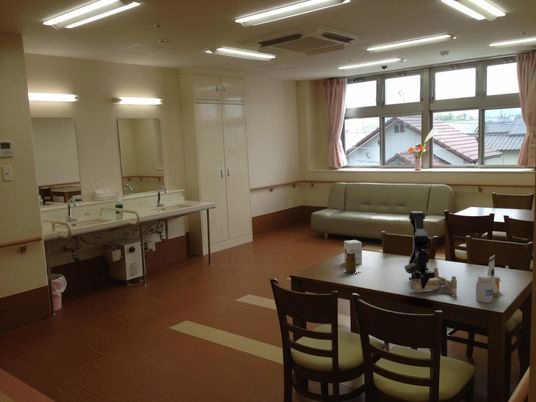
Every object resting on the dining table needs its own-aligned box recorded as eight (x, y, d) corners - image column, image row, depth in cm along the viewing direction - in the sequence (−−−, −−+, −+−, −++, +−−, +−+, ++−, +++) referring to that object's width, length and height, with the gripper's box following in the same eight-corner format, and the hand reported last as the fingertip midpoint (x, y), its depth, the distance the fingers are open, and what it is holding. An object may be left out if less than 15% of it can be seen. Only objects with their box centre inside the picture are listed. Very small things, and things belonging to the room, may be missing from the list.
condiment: (349, 270, 294) (349, 251, 292) (361, 272, 288) (360, 253, 287) (342, 272, 288) (342, 253, 287) (354, 274, 283) (354, 255, 281)
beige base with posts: (427, 285, 257) (427, 267, 255) (436, 284, 257) (436, 266, 256) (447, 296, 237) (447, 277, 236) (456, 295, 238) (457, 276, 236)
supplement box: (343, 262, 313) (343, 240, 311) (355, 261, 316) (355, 239, 314) (350, 265, 304) (349, 243, 303) (362, 264, 307) (362, 242, 305)
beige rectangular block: (411, 288, 246) (411, 279, 246) (435, 286, 249) (435, 277, 248) (414, 290, 242) (414, 281, 242) (439, 288, 245) (439, 279, 244)
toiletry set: (490, 304, 223) (491, 262, 221) (473, 301, 228) (474, 260, 226) (504, 291, 242) (505, 252, 240) (488, 289, 247) (489, 251, 245)
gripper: (398, 255, 251) (398, 283, 253) (415, 263, 233) (414, 293, 235) (418, 254, 253) (418, 281, 255) (435, 262, 235) (435, 292, 236)
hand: (421, 287), depth 245 cm, fingers closed on beige rectangular block, 4 cm apart
